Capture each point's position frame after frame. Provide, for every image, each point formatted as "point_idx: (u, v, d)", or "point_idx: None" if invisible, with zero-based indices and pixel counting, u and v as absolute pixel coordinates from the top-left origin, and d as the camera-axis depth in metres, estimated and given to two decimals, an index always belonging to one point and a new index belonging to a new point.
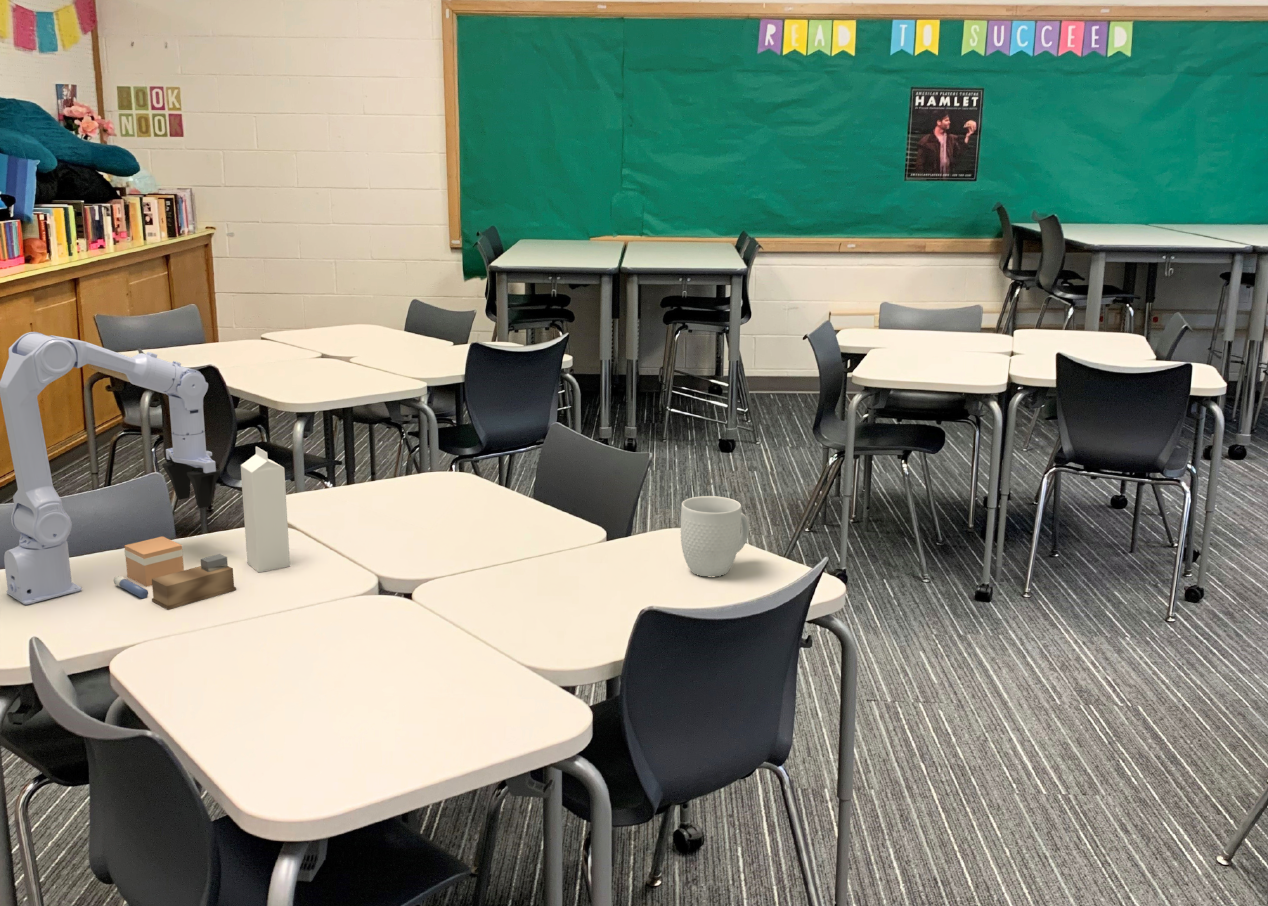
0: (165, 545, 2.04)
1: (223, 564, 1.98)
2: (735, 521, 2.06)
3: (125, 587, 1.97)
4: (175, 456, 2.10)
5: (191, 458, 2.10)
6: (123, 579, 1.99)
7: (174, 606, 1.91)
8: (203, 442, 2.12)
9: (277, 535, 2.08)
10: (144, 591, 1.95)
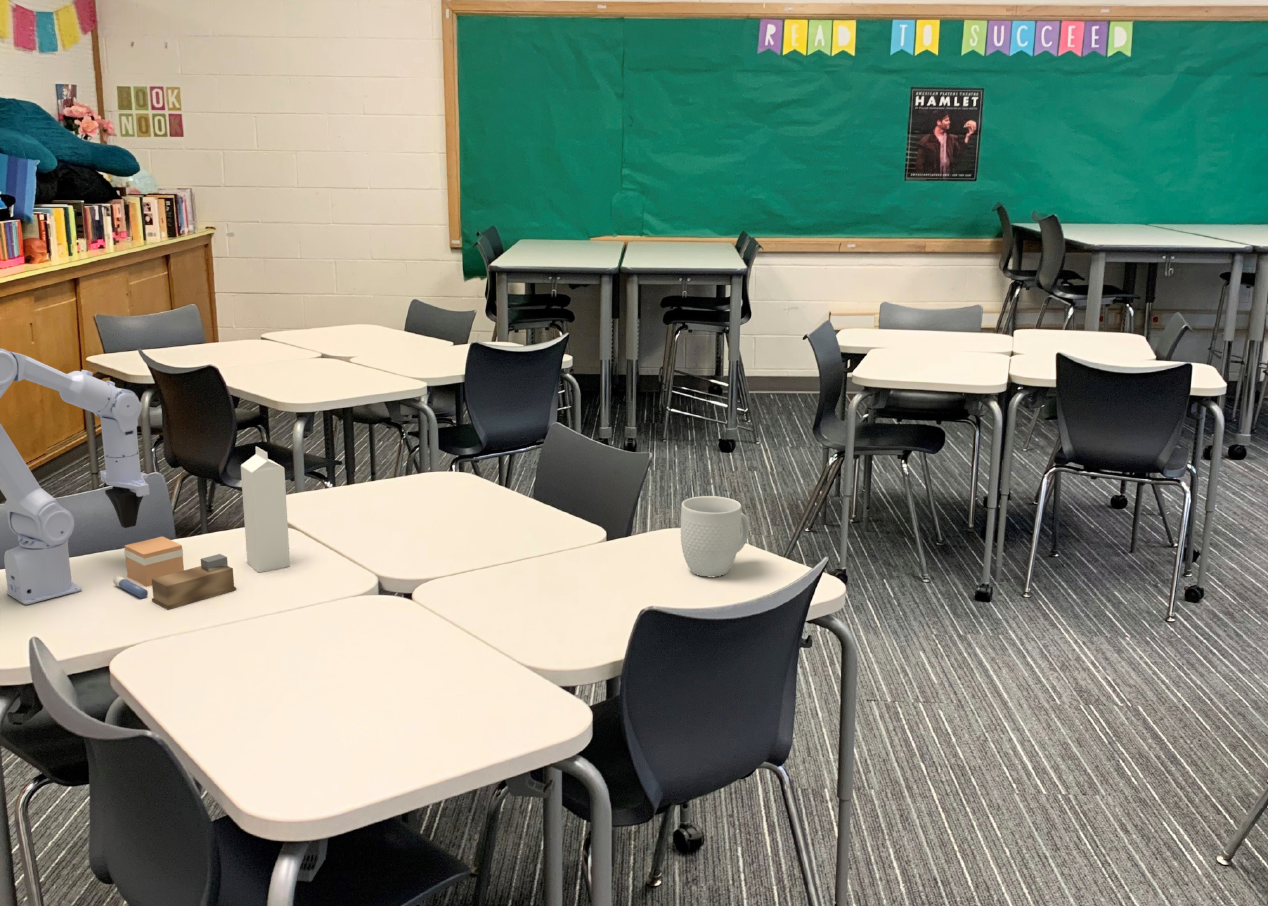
0: (165, 545, 2.04)
1: (223, 564, 1.98)
2: (735, 521, 2.06)
3: (125, 588, 1.97)
4: (108, 479, 2.04)
5: (124, 481, 2.04)
6: (122, 579, 1.99)
7: (174, 606, 1.91)
8: (137, 464, 2.06)
9: (277, 535, 2.08)
10: (143, 591, 1.95)
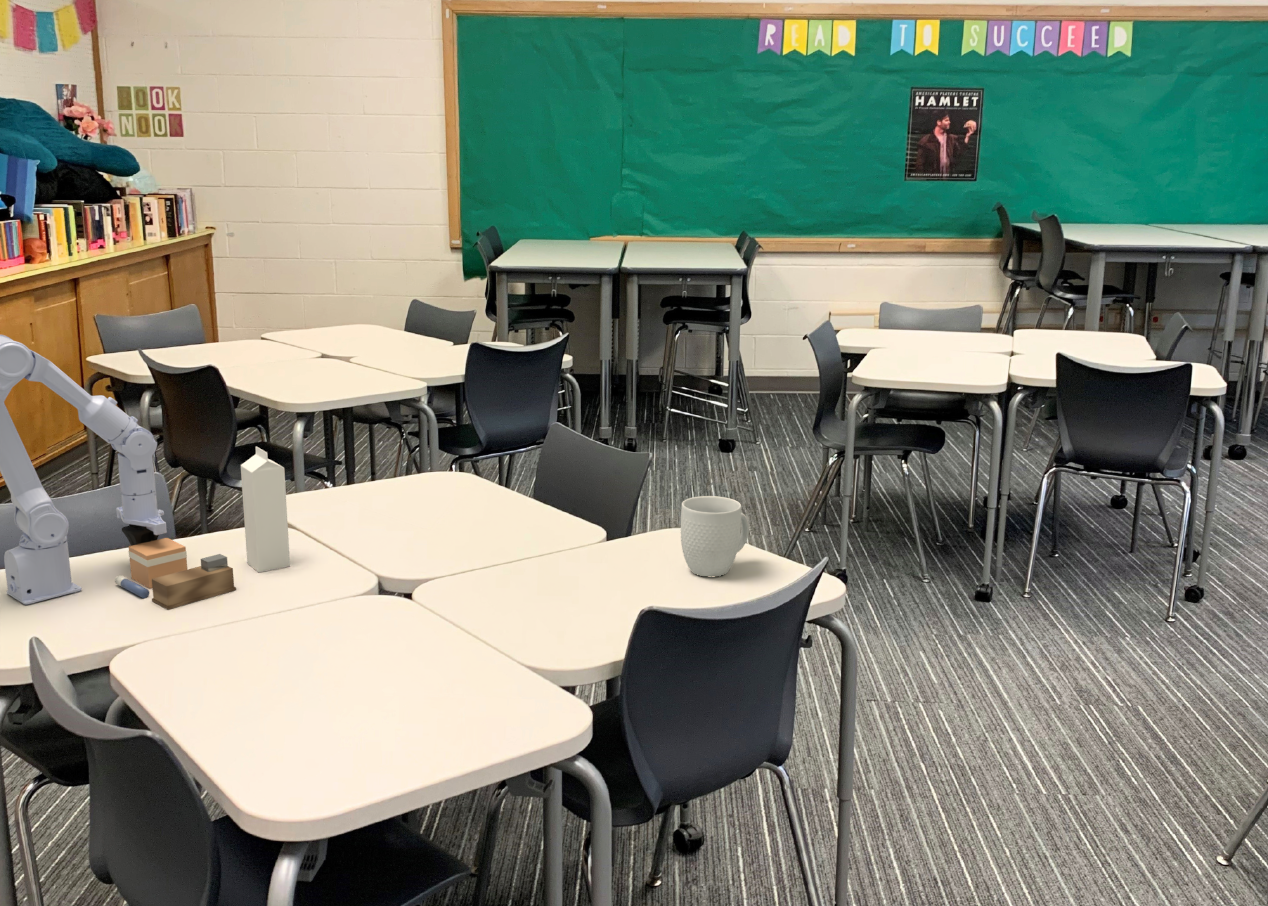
0: (169, 546, 2.02)
1: (223, 564, 1.98)
2: (735, 521, 2.06)
3: (126, 586, 1.97)
4: (124, 517, 2.03)
5: (141, 519, 2.02)
6: (125, 578, 1.99)
7: (174, 606, 1.91)
8: (154, 502, 2.04)
9: (277, 535, 2.08)
10: (146, 591, 1.95)
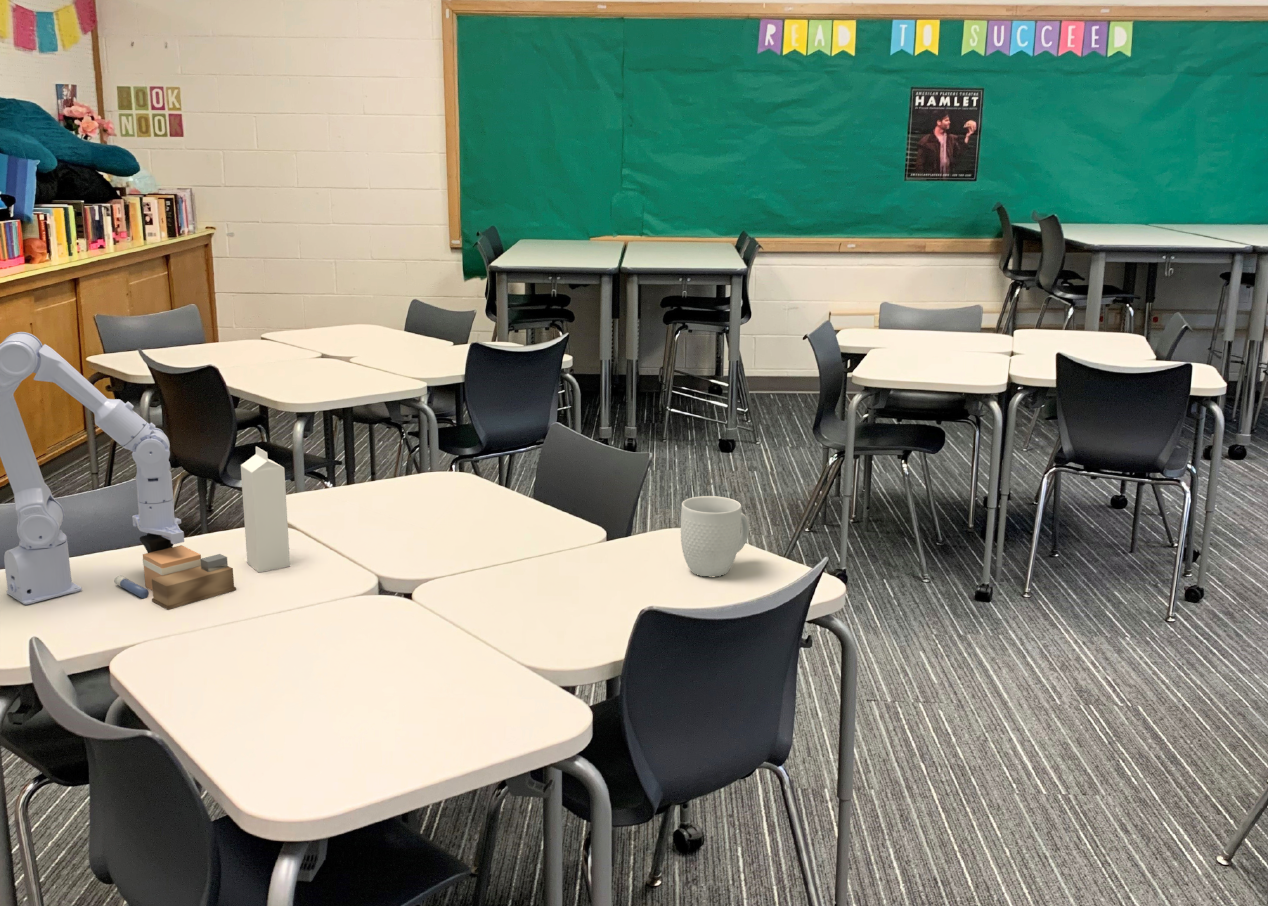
0: (184, 554, 1.99)
1: (223, 564, 1.98)
2: (735, 521, 2.06)
3: (126, 586, 1.97)
4: (141, 525, 1.98)
5: (158, 528, 1.98)
6: (124, 579, 1.99)
7: (174, 606, 1.91)
8: (171, 510, 2.00)
9: (277, 535, 2.08)
10: (145, 591, 1.95)
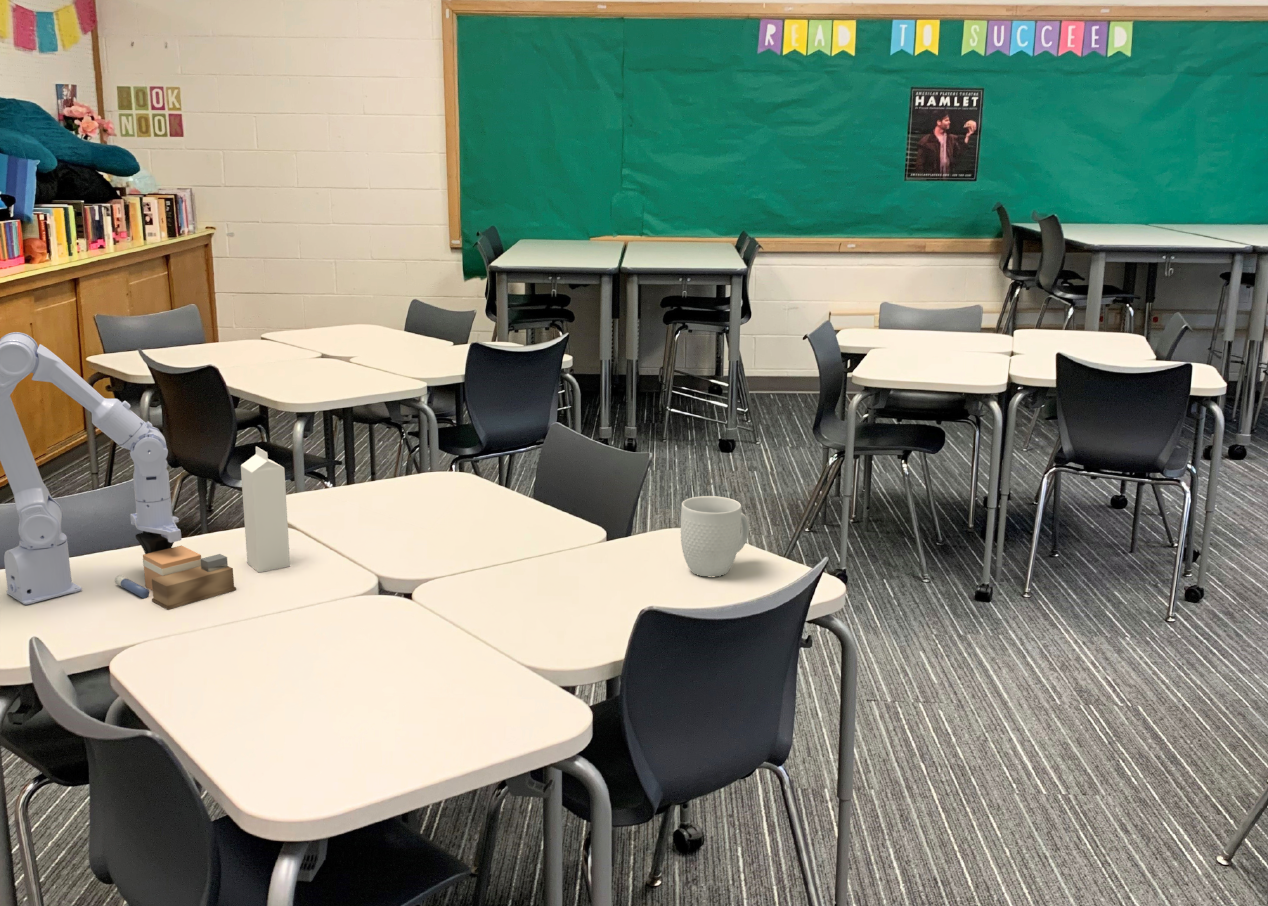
0: (184, 555, 1.99)
1: (223, 564, 1.98)
2: (735, 521, 2.06)
3: (126, 586, 1.97)
4: (139, 524, 1.99)
5: (156, 526, 1.99)
6: (125, 578, 1.99)
7: (174, 606, 1.91)
8: (168, 508, 2.00)
9: (277, 535, 2.08)
10: (146, 591, 1.95)
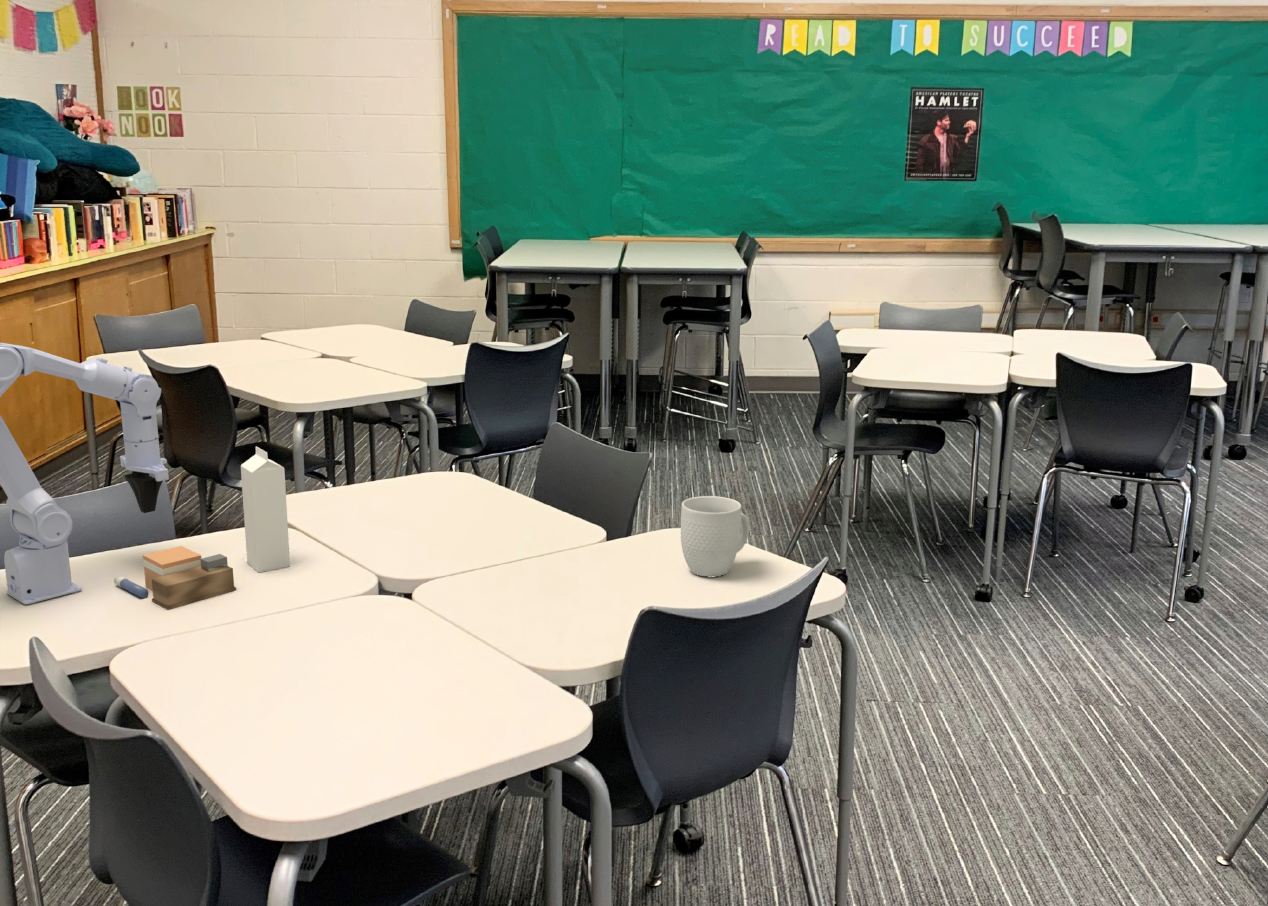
0: (184, 555, 1.99)
1: (223, 564, 1.98)
2: (735, 521, 2.06)
3: (125, 587, 1.97)
4: (127, 464, 2.05)
5: (144, 466, 2.04)
6: (124, 579, 1.99)
7: (174, 606, 1.91)
8: (156, 449, 2.06)
9: (277, 535, 2.08)
10: (145, 591, 1.95)
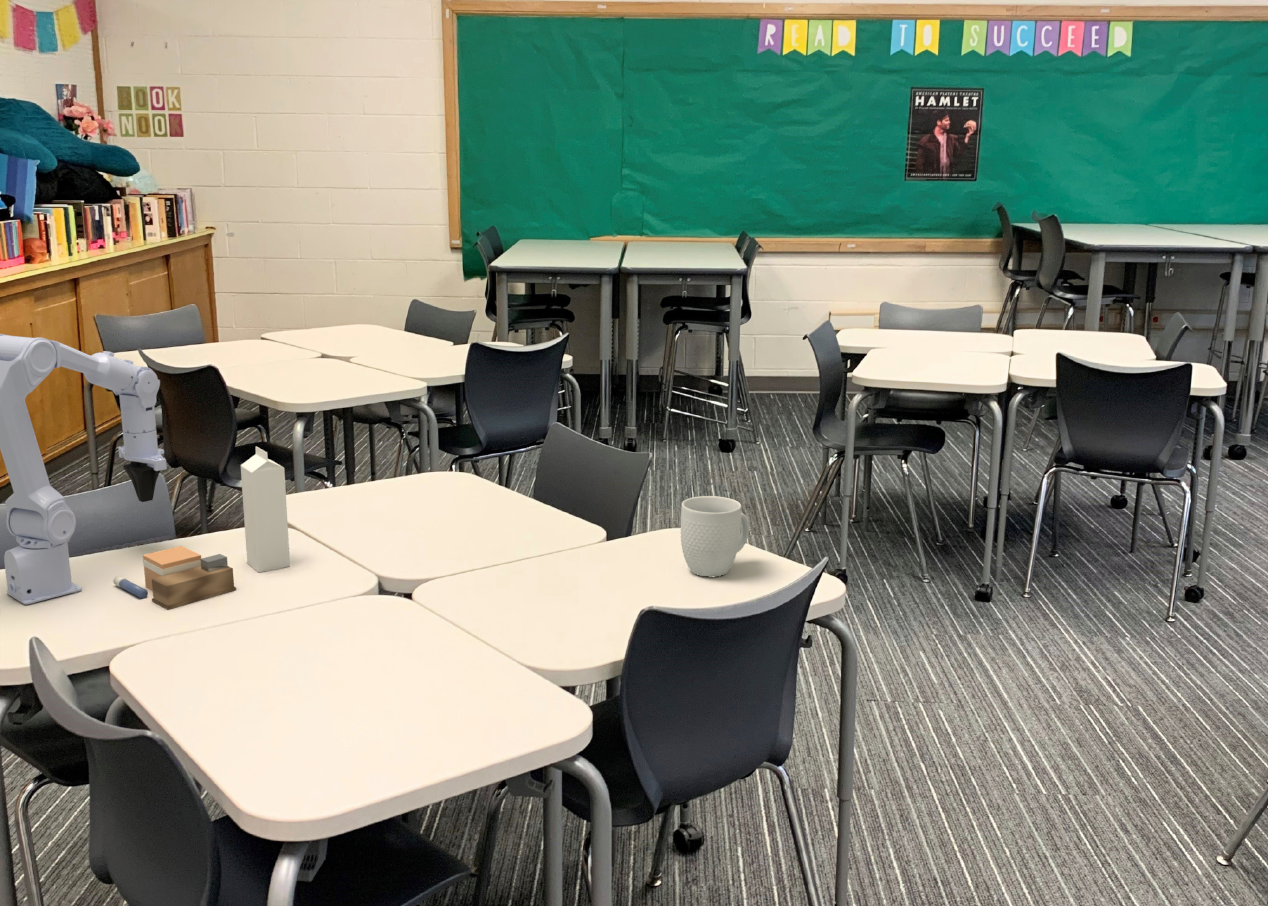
0: (184, 555, 1.99)
1: (223, 564, 1.98)
2: (735, 521, 2.06)
3: (125, 587, 1.97)
4: (126, 454, 2.11)
5: (142, 456, 2.11)
6: (122, 579, 1.99)
7: (174, 606, 1.91)
8: (154, 440, 2.13)
9: (277, 535, 2.08)
10: (144, 591, 1.95)
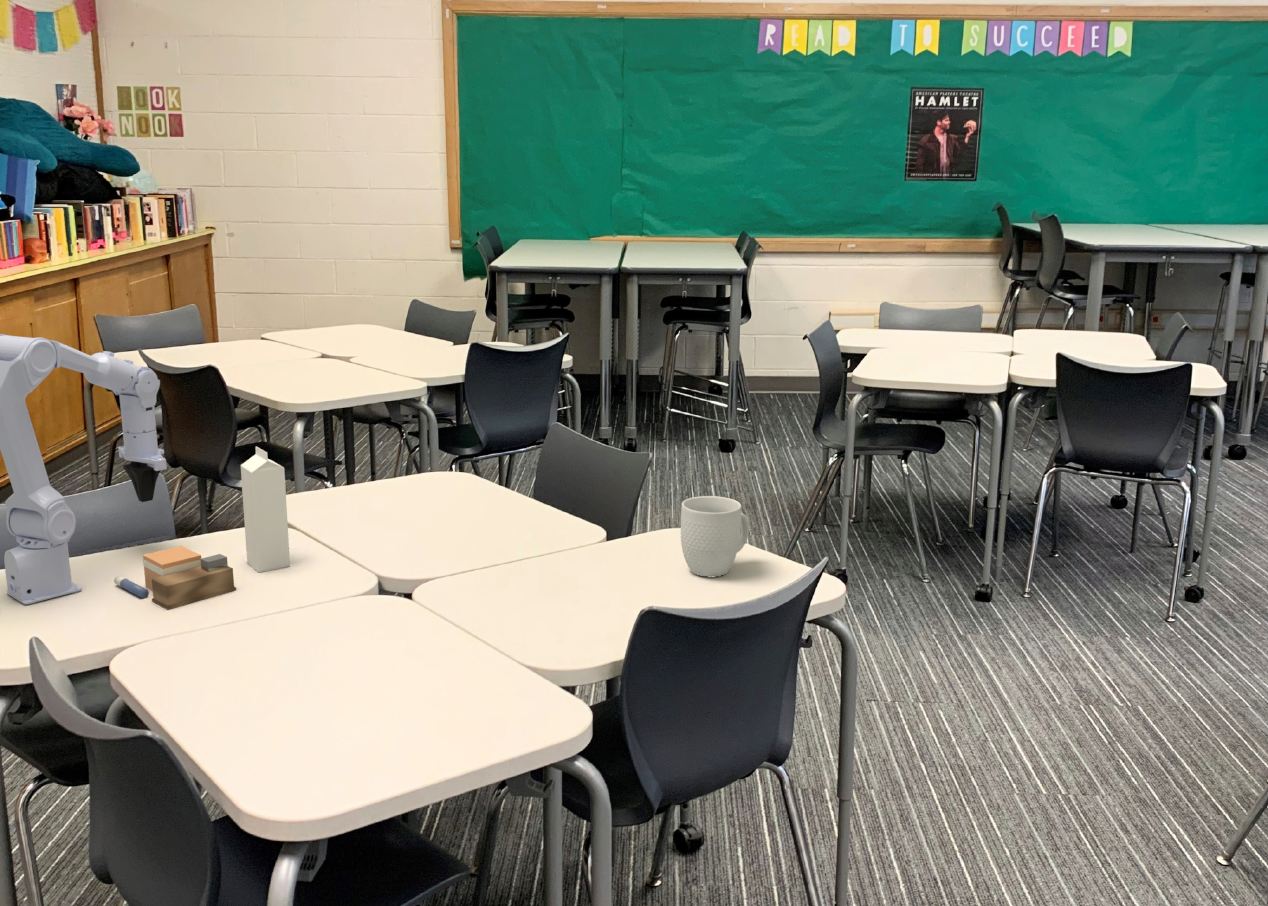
0: (184, 555, 1.99)
1: (223, 564, 1.98)
2: (735, 521, 2.06)
3: (126, 586, 1.97)
4: (126, 454, 2.11)
5: (142, 456, 2.11)
6: (124, 579, 1.99)
7: (174, 606, 1.91)
8: (154, 440, 2.13)
9: (276, 535, 2.08)
10: (145, 591, 1.95)
